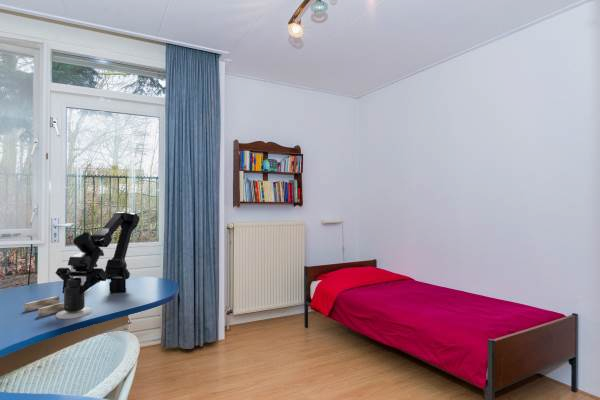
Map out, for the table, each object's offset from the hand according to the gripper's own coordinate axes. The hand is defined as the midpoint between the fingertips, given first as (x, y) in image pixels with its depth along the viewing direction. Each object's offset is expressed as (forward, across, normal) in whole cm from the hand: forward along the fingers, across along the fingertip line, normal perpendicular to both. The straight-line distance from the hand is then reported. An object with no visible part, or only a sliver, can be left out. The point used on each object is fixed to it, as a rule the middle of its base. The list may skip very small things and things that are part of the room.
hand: (71, 293), depth 137 cm
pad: (+5, 0, +7) cm, 8 cm away
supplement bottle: (+4, 0, +6) cm, 7 cm away
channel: (+2, -13, +9) cm, 17 cm away
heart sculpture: (-16, -18, +29) cm, 38 cm away
